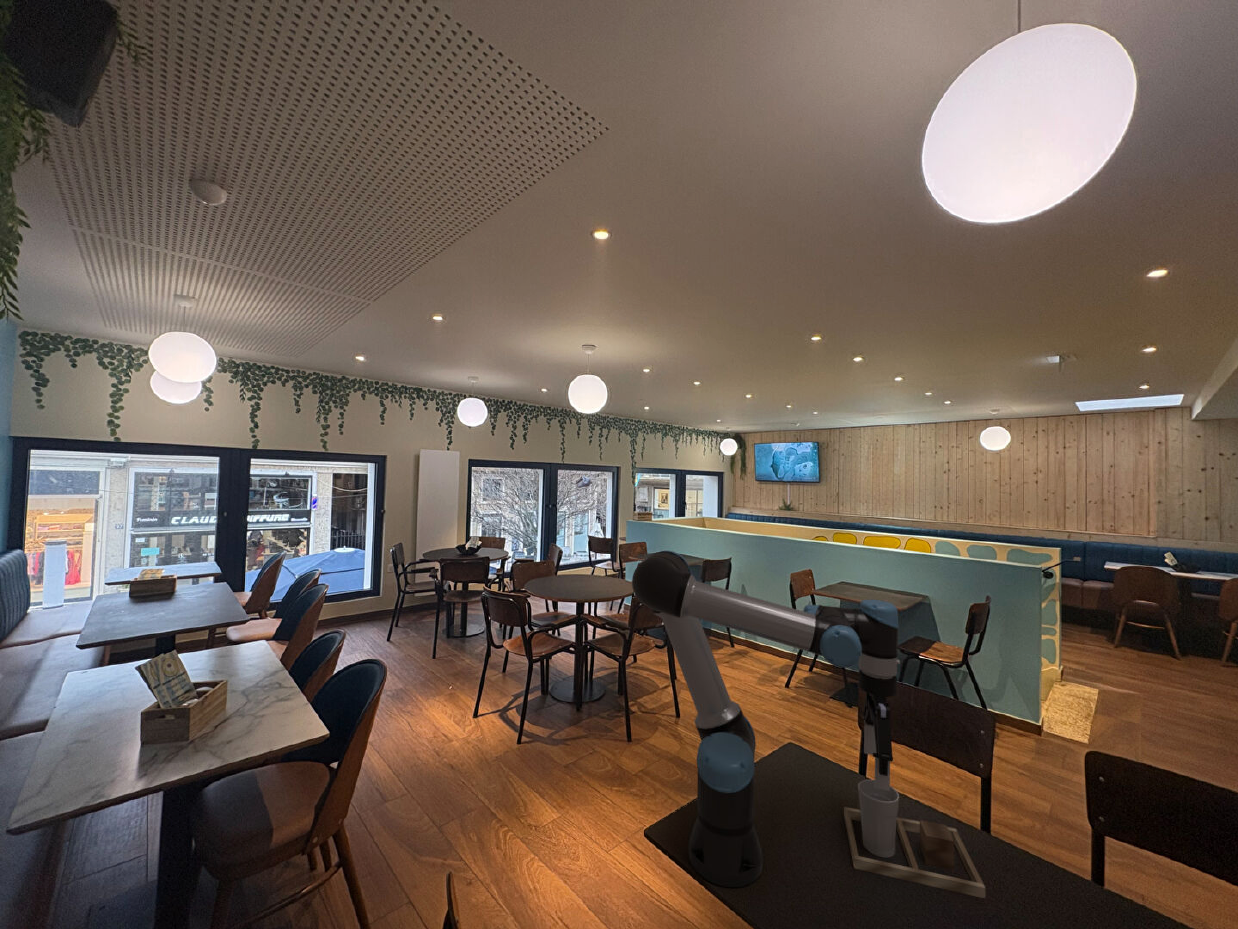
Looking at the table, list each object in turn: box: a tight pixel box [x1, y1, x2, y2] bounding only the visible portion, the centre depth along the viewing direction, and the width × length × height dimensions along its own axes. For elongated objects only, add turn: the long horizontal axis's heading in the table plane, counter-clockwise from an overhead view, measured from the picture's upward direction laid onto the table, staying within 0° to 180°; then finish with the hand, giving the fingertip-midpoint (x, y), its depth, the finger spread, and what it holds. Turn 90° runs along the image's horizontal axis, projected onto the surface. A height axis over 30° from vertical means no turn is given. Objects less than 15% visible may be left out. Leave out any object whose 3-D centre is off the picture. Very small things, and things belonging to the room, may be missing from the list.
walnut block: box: [919, 819, 955, 872], centre depth 105 cm, size 5×5×6 cm
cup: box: [857, 779, 900, 858], centre depth 109 cm, size 8×8×12 cm
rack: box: [843, 806, 986, 899], centre depth 107 cm, size 23×17×2 cm
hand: (876, 770), depth 109 cm, fingers open, 13 cm apart
